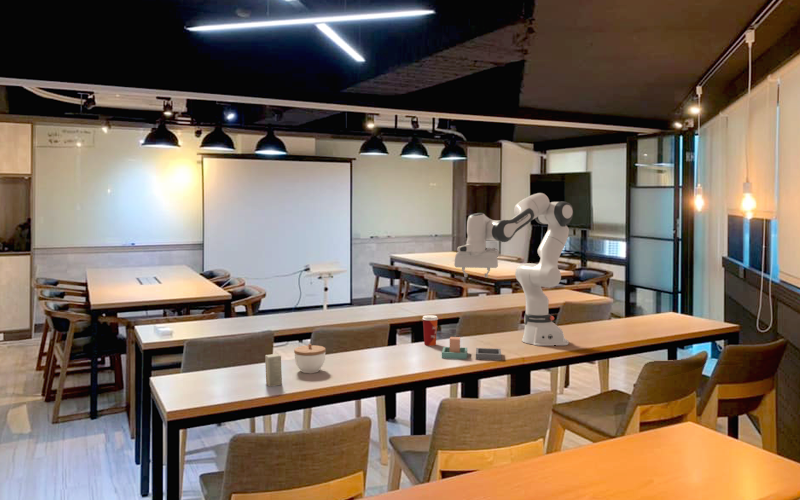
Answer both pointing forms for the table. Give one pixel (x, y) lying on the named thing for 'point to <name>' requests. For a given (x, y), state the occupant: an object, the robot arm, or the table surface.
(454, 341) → the block
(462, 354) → the bin
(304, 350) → the lidded bowl
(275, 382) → the box
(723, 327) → the table surface
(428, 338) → the paper cup
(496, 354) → the bin
